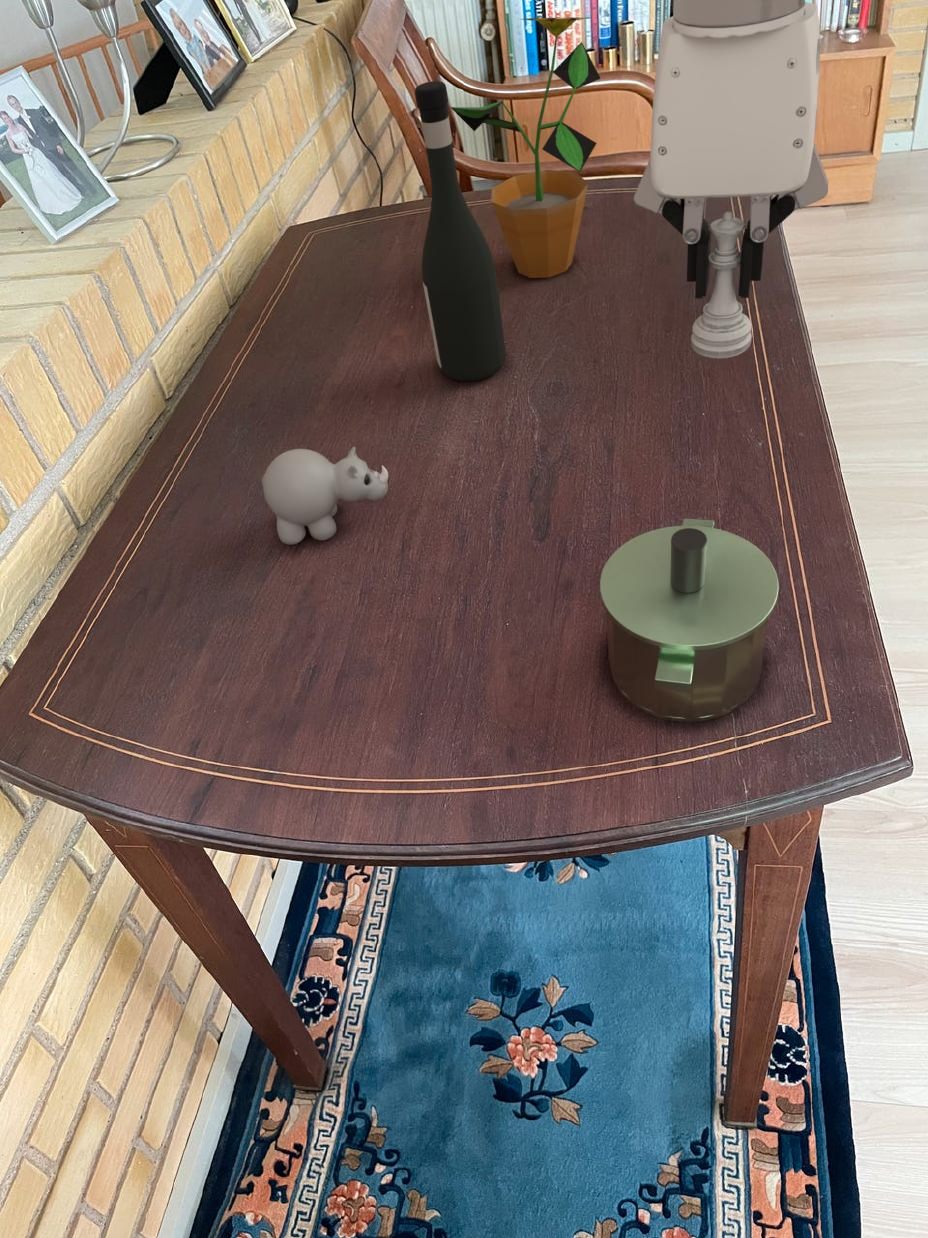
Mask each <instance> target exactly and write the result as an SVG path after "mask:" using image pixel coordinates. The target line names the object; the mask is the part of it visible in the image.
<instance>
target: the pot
mask: <svg viewBox="0 0 928 1238" xmlns="http://www.w3.org/2000/svg"><path fill="white" fill-rule="evenodd" d="M715 522H716V521H715V520H714V519H700V518H683V519H682V523H681V526H685V525H687V526H704V527H710V528H715ZM768 620H769V618H768V619H767V620H766V622H765V623H764V624H763V625H762V626H761V627H760V628H758V629H757V630H756V631H755V632H753V633H752V634H750V635H749V636H747V637H745V638H743V639H741V640H739V641H737V642H734V643H731V644H728V645H726V646H721V647H717V648H712V649H705V650H676V649H669V648H664V647H660V646H656V645H652V644H650V643H647V642H644V641H642V640H640V639H638V638H636V637H634V636H632V635H630V634H629V633H627V632H626V631H624V630H623V629H622V628H621V627H619V626H618V625H617V624H616V623H615V622H614V621H613V620H612V618H611V617H610V616H609V614H608V613H607V612H606V631H607V649H608V650H607V651H608V652H607V653H608V665H609V667H610V672H611V673H610V674H611V676H612V677H611V678H612V680H613V682H614V685H615V686H616V689H617V690H618V691H619V693H620V694H621V695H622V696H623V698H624V699H626V700H627V701H628V703H630V704H631V705H632V706H634V707H635V708H637V710H641V711H642V712H644V713H646V714H648V715H650V716H653V717H655V718H658V719H663V720H665V721H669V722H675V723H676V722H678V723H699V722H706V721H707V722H708V721H710V720H715V719H718V718H720V717H724V716H726V715H728V714H730V713H732V712H734V711H736V710H738V709H739V708H740V707H742V705H744V703H746V702H747V701H748V699H750V697H752V695H753V694H754V692H755V690H756V688H757V687H758V683H759V681H760V679H761V674H762V667H763V659H764V651H765V644H766V636H767V627H768Z"/></svg>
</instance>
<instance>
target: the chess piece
mask: <svg viewBox="0 0 928 1238" xmlns="http://www.w3.org/2000/svg"><path fill="white" fill-rule="evenodd" d="M733 215H734V214H733V212H732V211H730V210H726V211H725V212H723V214H722V217H721V218H718V219H715V220H714V221H712V222H711V223H710V225H709V230H710V231H711V234H712V235H713V236H714V239H715V240H716V241H715V242H716V246H715V247H714V251H713V252H711V254H710V255H709V259H708V263H709V265H710V268H714V269H715V276H714V283H713V287H712V288H713V289H712V293H711V296H710V300H709V302H708V303H706V304H705V305H703V307H702V308H703V309H702V313H703V314H701V315H700V316H699V317H697V318H696V319H695V321H694V322H693V324H692V328H691V329H692V334H691V337H690V344H691V348H692V350H693V351H694V352H696V353H697V354H698V355H700V356H703V357H705V358H710V359H728V358H733V357H736V356H739V355H742V353H744V352H746V351H747V350H748V349H749V348H750V346H751V344H752V336H753V335H752V332H751V331H752V326H753V325H752V321H751V320H750V319H749V317H748V316H747V315H746V314H744V313H743V305H742V303H741V302H739V301H737V297H736V289H735V268H737V267H740V263H741V250H738V247H739V246H738V245H737V240H738V238H739V236H740V235H741V233H742V232H744V229H746V223H745V220H743V219H741V218H738V217H733Z"/></svg>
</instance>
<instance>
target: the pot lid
mask: <svg viewBox="0 0 928 1238" xmlns="http://www.w3.org/2000/svg"><path fill="white" fill-rule="evenodd" d="M766 555H767V554H765V553H764V552H763V551H762V550H761V549H760V548H758V546H756V545H755V544H753V543H752V542H750V541H749V540H747V539H745V538H743V537H742V536H739V535H738V534H734V533H732V532H730V531H727V530H724V529H719V528H715V527H714V528H710V527H704V526H687V525H685V526H682V525H673V526H672V525H671V526H666V527H665V526H664V527H660V528H656V529H652V530H650V531H646V532H644V533H642V534H639V535H637V536H635V537H633V538H630V539H629V540H628V541H626V542H625V543H623V544H622V545H621V546H619V547H618V548H617V549H616V550H615V551H614V552H613V553H612V554H611V555H610V556H609V558H608V559H607V561H606V562H605V564H604V566H603V567H602V571H601V574H600V579H599V592H600V593H599V594H600V599H601V602H602V605H603V607H604V609H605V611H606V614H607V613H608V614H609V616H610V617H611V618H612V620H613V621H614V622H615V623H616V624H617V625H618V626H619V627H621V628H622V629H623V630H624V631H626V632H627V633H629V634H630V635H632V636H634V637H636V638H638V639H640V640H642V641H644V642H647V643H650V644H652V645H656V646H660V647H664V648H669V649H676V650H705V649H712V648H717V647H721V646H726V645H728V644H731V643H734V642H737V641H739V640H741V639H743V638H745V637H747V636H749V635H750V634H752V633H753V632H755V631H756V630H757V629H758V628H760V627H761V626H762V625H763V624H764V623H765V622H766V620H767V619H768V620H769V618H770V617H771V615H772V613H773V612H774V610H775V608H776V605H777V602H778V597H779V589H780V587H779V578H778V574H777V571H776V569H775V567H774V565H773V563H772V562H771V560H770V559H769V557H768V556H766Z"/></svg>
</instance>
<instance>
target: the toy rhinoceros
mask: <svg viewBox="0 0 928 1238" xmlns="http://www.w3.org/2000/svg"><path fill="white" fill-rule="evenodd" d="M356 450H357V447H356V446H352V447H351V449H350V450H349V451H348V455H347V456H346V457H345V458H342V459H340V460H339V461H337V462H336V463H333V462H331V461H330V460H329V459H328V458H327V457H325V456H324V455H323V454H321V453H319V452H317V451H314V450H312V449H308V448H294V449H290V450H286V451H284V452H283V453H281V454H279V455H277V456H276V457H275V458H274V459H273V460H272V461H271V462H270V463H269V465H268V467H267V469H266V471H265V472H264V474H263V476H262V478H261V485H262V489H263V496H264V500H265V502H266V503H267V506H268V508H269V509H270V510H271V511H272V512H273V514H274V516H276V532H277V535H278V538H279V540H280V541H281V542H282V543H283V544H285V545H288V546H290V545H297V544H299V543H300V542H302V541H303V539H305V537H306V533H307V532H306V527H307V528H308V532H309V534H310V536H311V537H312V538H313V539H315V540H317V541H326V540H329V539H331V538H332V537H333V536H335V534H336V533H337V524H336V521H335V519H334V516H335V515H336V514H337V511H338V506H337V504H338V501H339V500H342V501H345V502H349V503H356V502H359V501H361V500H364V499H366V500H368V501H373V502H374V501H379V500H381V499H383V498H384V497H385V496H386V494H387V493H388V490H389V484H388V479H389V472H388V470H387V469H386V467H385V466H384V465H381V473H380V472H378V471H377V470H373V469H371V468H369V467H368V464H367V462H366V461H365V460H363V459H361V458H360V457H358V455H357V451H356ZM305 526H306V527H305Z"/></svg>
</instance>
